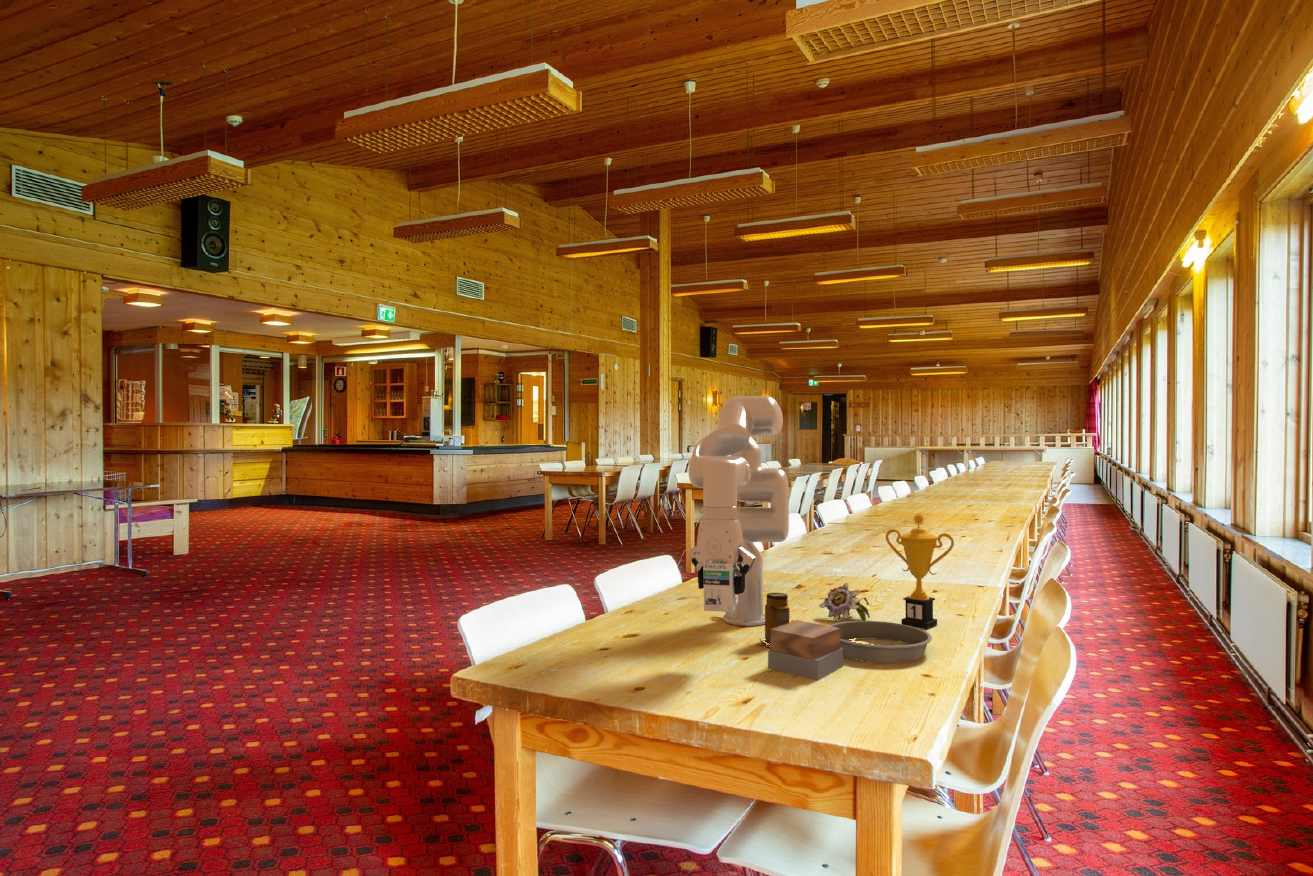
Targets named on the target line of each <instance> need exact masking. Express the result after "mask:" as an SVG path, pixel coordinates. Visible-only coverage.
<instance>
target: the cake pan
mask: <svg viewBox="0 0 1313 876" xmlns="http://www.w3.org/2000/svg"><path fill="white" fill-rule="evenodd" d="M829 626H831V627H836V628H840V642H841V648H843V658H847V659H851V660H855V659H857V660H856V661H860V660H863V661H862V662H866V661H870V662H869V663H875V662H877V663H876V664H879V663H880V664H902V663H903V662H904V663H911V662H915V661H918V660H921V659H922V658H924V656H925V653H926V649H927V645H928V644H929V643H930V642H931V641H932V639H933V636H932V635H931V634H930V633H929V632H927V631H926V630H925V629H921V628H916V627H912V626H908V625H903V624H901V623H895V622H891V621H881V620H879V621H878V620H866V621H862V620H851V621H841V622H836V623H833V624H830V625H829ZM854 638H875V639H874V640H883V641H885V640H886V641H891V642H897V641H901V642H900V643H902V642H904V643H903V644H902V645H895V644H882V643H875V644H874V645H871V644H862V643H856V642H851V641H852V640H849V639H854ZM906 643H907V644H906ZM878 644H879V645H878ZM909 644H910V645H909ZM917 659H918V660H917ZM914 660H915V661H914ZM910 661H911V662H910Z"/></svg>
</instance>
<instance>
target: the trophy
mask: <svg viewBox="0 0 1313 876" xmlns="http://www.w3.org/2000/svg"><path fill="white" fill-rule="evenodd" d="M924 520H925V518H924V516H923V515H921V514H915V515H914V516H913V522H914V523H915V525H917V527H915V528H912V529H911V531H908V532H906V533H902V534H901V532H900V531H899V530H897V529H896V528H895V529H894V528H891V529H889V530H888V531H887V532H886V533H885V541H886V542H887V544H888V546H889V547H890V548H891V550H892V551H893V552H894V553H895V554H896V555H897V556H898V557H899V558H900V559H901V560H902V561H904V563H905V564H906V565H907V569H904V568H902V567H901V569H902V571H903V572H908V571H909V572H910V574H911V575H912V576H913V577H914V578H915V579H916V582H915V583H916V586H915V589H914V590H912V593H910V595H909V596H905V597H903V598H902V599H903V600H904V601H905V603H904V604H905V617H903V618H902V619H901V623H900V624H903V625H908V626H912V627H919V629H921V628H924V629H923V630H928V629H931V628H933V627H935V626H938V618H934V601H935V600H936V598H935V597H930V596H928V594H927V593H926V591H924V590H923V585H922V584H923V582H922V581H923V579H924V578H925V577H926V576H927V574H928V573H929V574H930V575H932V576H934V575H935V576H936V574H937V572H934V573H933V572H931V568H932V566H934V565H935V564H937V563H938V562H939V561H941V560H942V559H943V558H945V557H946V556H947V555H948V554H949V553H951V551H952V550H953V548H954V545H955V540H954V538H953V536H951V534H948V533H945V532H944V533H941V534H938V536H937V535H935V534H933V533H930V532H927V531H926V528H921V527H920V526H921V525H923V523H924ZM891 533H896V534H897V538H896V540H895V541H896V543H897V544H898V545H902V546H903V550H904V555H905V556H904V555H903V554H902V553H900V551H899V550H898V549H897V548H896V547H895V545H893V544H892V542H891V541H890V539H889V536H890V534H891ZM943 537H946V538H947V539H949V540H950V542H951V543H950V546H949V547H948V548H947V550H945V551H944V552H943V553H942V554H941V555H939V556H938V557H937V558H935V559H934V560H933V561H932V559H933V554H934V550H935V549H940V548H942V547H943V542H942V540H941V539H942V538H943ZM900 540H901V541H900ZM937 542H938V543H939V545H938V544H937ZM930 627H931V628H930Z"/></svg>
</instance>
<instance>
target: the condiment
mask: <svg viewBox="0 0 1313 876" xmlns="http://www.w3.org/2000/svg"><path fill="white" fill-rule="evenodd" d="M788 597H789V596H788V594H787V593H783V592H768V593H767V594H766V599H765V602H766V604H765V605H764V614H765V624H764V637H760V638H759V639H760V641H761V642H762V641H765V642H767V643H769V644H770V629H772V628H775V627H779V626H782V625H785V624H788V623H790V615H791V614H790V605H789V604H788V603H789V600H788ZM761 638H762V639H764V638H765V639H766V640H762V639H761ZM762 644H763V645H764V646H765V647H766V648H769V647H768V646H770V645H766V643H763V642H762Z"/></svg>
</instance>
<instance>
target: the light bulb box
mask: <svg viewBox="0 0 1313 876" xmlns="http://www.w3.org/2000/svg"><path fill="white" fill-rule="evenodd" d="M703 576H704V588H703V611H704V612H705V611H706V612H721V613H722V612H724V613H725V612H733V611H734V609H735V607H736V605H737V603H738V595H737V594H735V593H734V577H735V576H737V575H736V573H735V572H734V566H733V563H726V562H719V561H713V560H705V561H704V563H703Z"/></svg>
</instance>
